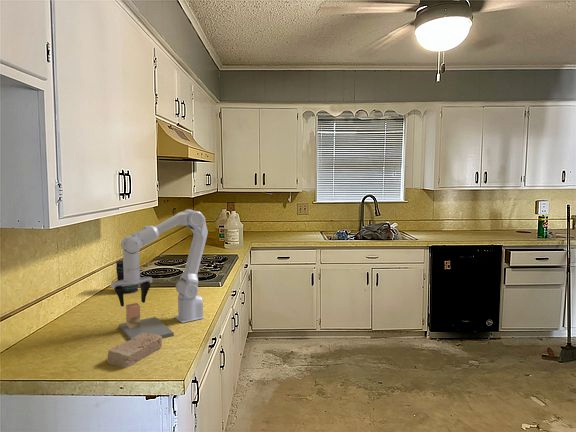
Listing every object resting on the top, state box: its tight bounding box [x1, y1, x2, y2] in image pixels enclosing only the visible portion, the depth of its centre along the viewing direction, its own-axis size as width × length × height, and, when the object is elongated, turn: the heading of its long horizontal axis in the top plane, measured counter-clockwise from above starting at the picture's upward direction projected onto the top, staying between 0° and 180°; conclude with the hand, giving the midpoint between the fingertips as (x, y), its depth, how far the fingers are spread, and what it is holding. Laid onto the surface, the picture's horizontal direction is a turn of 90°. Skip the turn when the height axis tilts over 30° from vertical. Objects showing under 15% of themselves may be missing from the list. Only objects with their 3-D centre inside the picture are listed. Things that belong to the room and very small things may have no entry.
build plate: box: [118, 316, 175, 340], centre depth 154 cm, size 14×20×1 cm
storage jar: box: [115, 259, 139, 295], centre depth 205 cm, size 10×10×15 cm
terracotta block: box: [125, 302, 141, 318], centre depth 156 cm, size 4×4×4 cm
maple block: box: [125, 315, 141, 329], centre depth 156 cm, size 4×4×4 cm
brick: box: [107, 333, 163, 369], centre depth 134 cm, size 17×8×5 cm, turn 157°
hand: (132, 303), depth 155 cm, fingers open, 7 cm apart
